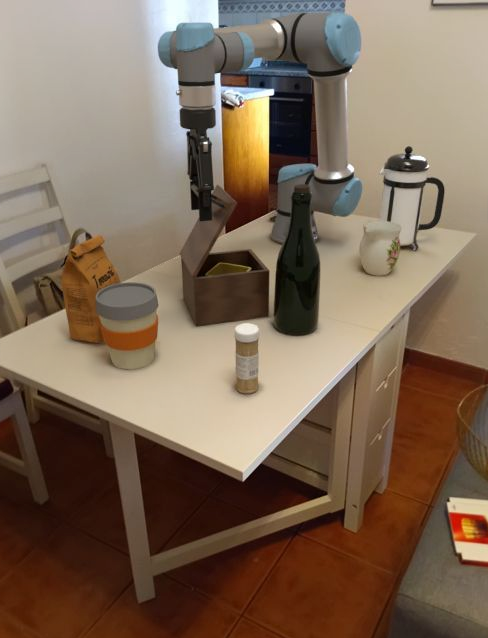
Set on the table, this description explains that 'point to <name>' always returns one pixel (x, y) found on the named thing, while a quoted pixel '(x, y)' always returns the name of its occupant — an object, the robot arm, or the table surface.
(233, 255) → the chest
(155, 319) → the reusable coffee cup
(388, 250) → the pitcher
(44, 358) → the table surface
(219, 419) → the table surface
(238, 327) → the sprinkles bottle
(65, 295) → the coffee package
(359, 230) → the table surface
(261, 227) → the table surface
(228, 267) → the flower pot
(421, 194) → the coffee press
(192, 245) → the lid
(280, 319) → the dark green wine bottle
